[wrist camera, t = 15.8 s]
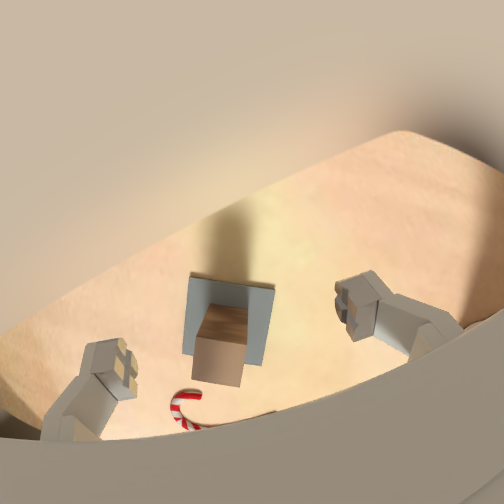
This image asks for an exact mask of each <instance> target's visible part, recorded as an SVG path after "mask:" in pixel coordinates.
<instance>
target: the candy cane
mask: <svg viewBox="0 0 504 504" xmlns="http://www.w3.org/2000/svg"><path fill="white" fill-rule="evenodd" d="M201 397H202V393H200V392H194V391H187V392H182V393H180V394H178V395H177V396H176V397H175V398H174V399H173V400H172V402H171V405H170V409H171V413H172V416H173V417H174V419H175V420H176V422H177V423H178V424H179V425H181V426H182V427H184V428H185V429H187V430H189V431H194V430H200V429H205V428H210V427H203V426H198V425H195V424H192V423H190V422H189V421H187V420H186V419H185V418H184V417H183V416H182V415H181V413H180V410H179V406H180V404H181V402H182V401H184V400H186V399H197V400H200V399H201Z"/></svg>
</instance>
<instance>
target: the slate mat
mask: <svg viewBox="0 0 504 504" xmlns="http://www.w3.org/2000/svg"><path fill="white" fill-rule="evenodd" d="M274 295H275V289H269V288H262V287H255V286H248V285H241V284H235V283H228V282H222V281H215V280H209V279H203V278H196V277H189V286H188V296H187V306H186V316H185V327H184V339H183V351H182V354H186V355H192V356H194V348H195V339H196V335H197V333H198V330H199V328H200V326H201V323H202V321H203V319H204V316H205V314H206V312H207V310H208V307H209V305H210V303H212V304H218V305H224V306H230V307H236V308H242V309H248V335H247V349H246V355H245V360H244V364H249V365H257V366H261V365H262V360H263V355H264V350H265V344H266V339H267V334H268V328H269V323H270V317H271V312H272V306H273V300H274Z"/></svg>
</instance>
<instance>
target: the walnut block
mask: <svg viewBox="0 0 504 504" xmlns="http://www.w3.org/2000/svg"><path fill="white" fill-rule="evenodd" d="M247 335H248V309H242V308H236V307H230V306H224V305H218V304H212V303H210V305H209V307H208V310H207V312H206V314H205V316H204V319H203V321H202V323H201V326H200V328H199V330H198V333H197V335H196V339H195V348H194V357H193V367H192V377H191V379H192V380H197V381H203V382H208V383H214V384H220V385H227V386H233V387H240V382H241V377H242V371H243V366H244V360H245V355H246V349H247Z"/></svg>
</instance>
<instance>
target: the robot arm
mask: <svg viewBox="0 0 504 504" xmlns="http://www.w3.org/2000/svg"><path fill="white" fill-rule="evenodd" d="M335 291H336V293H337V294H338V295H337V297H336V298H335V308H336V312H337V315H338V317H339V319H340V321H341V322H342V323H345V324H346V331H347V332H348V334H349V336H350V337H351V339H352V341H353V342H356V341H359V340H361V339H364V338H367V337H370V336H373V335H374V337H376V338H377V339H379V340H381V341H383V342H384V343H386V344H388V345H389V346H391V347H393V348H395V349H396V350H398V351H400V352H402V353H403V354H405V355H407V356H409V359H408V362H407V363H406V364H404V365H402V366H399V367H397V368H395V369H393V370H391V371H388V372H386V373H384V374H381V375H379V376H377V377H374V378H372V379H370V380H367V381H365V382H362V383H360V384H357V385H355V386H352V387H350V388H347V389H344V390H342V391H339V392H336V393H334V394H331V395H328V396H325V397H322V398H319V399H316V400H313V401H310V402H307V403H304V404H301V405H298V406H295V407H291V408H288V409H285V410H281V411H278V412H274V413H270V414H267V415H263V416H259V417H255V418H251V419H247V420H243V421H239V422H234V423H230V424H225V425H220V426H216V427H210V428H205V429H200V430H194V431H188V432H182V433H175V434H169V435H161V436H153V437H144V438H134V439H122V440H107V441H103V440H102V439H101V438H99V436H100V435H101V433H102V431H103V429H104V427H105V425H106V424H107V422H108V420H109V418H110V416H111V414H112V413H113V411H114V409H115V407H116V405H117V404H118V401H122V400H128V399H134V398H137V383H136V381H135V380H134V379H135V378H136V377H137V375H138V365H137V361H136V358H135V356H134V354H133V353H132V352H131V351H129V350H127V349H126V346H127V344H126V342H125V341H124V339H123V338H115V339H110V340H104V341H98V342H94V343H88V344H87V345H86V346H85V350H84V354H83V359H82V364H81V368H80V373H79V376H76V377H75V378H74V379H73V381H72V382H71V383H70V384H69V385H68V387H67V388H66V389H65V390H64V392H63V393H62V394H61V395H60V397H59V398H58V399H57V400H56V402H55V403H54V404H53V405H52V407H51V408H50V409H49V410H48V412H47V413H46V414H45V415H44V420H43V426H42V432H41V437H40V441H34V440H20V439H9V438H0V504H504V308H503V309H501V310H500V311H498V312H497V313H495V314H494V315H492V316H491V317H489V318H488V319H486V320H484V321H479V322H476V323H473V324H471V325H470V326H468V327H467V328H465V329H464V330H463V328H462V327H461V326H460V325H459V324H458V323H457V321H456V320H455V319H454V318H453V317H452V316H451V315H450V314H449V312H446V311H444V310H441V309H438V308H436V307H433V306H430V305H427V304H425V303H422V302H419V301H416V300H414V299H411V298H408V297H405V296H403V295H400V294H395V295H394V294H393V293H392V292H391V290H390V289H389V288H388V287H387V286H386V285H385V284H384V282H383V281H382V280H381V279H380V278H379V277H378V276H377V274H376V273H375V272H374V271H372V270H370V271H367V272H364V273H361V274H359V275H355V276H352V277H349V278H346V279H343V280H340V281H337V282H336V283H335Z"/></svg>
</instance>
